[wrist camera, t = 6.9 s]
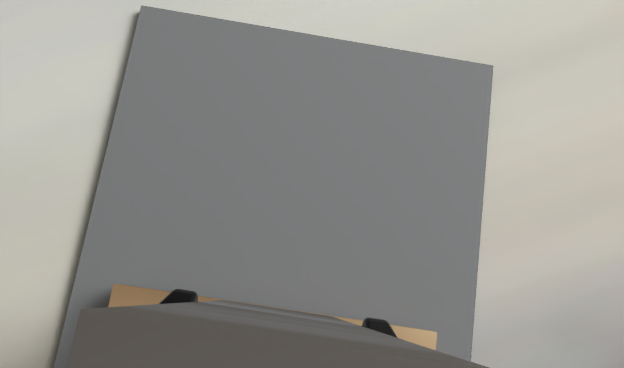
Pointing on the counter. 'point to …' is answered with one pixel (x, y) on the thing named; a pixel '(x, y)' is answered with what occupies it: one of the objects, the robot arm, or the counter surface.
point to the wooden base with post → (239, 337)
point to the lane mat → (291, 177)
